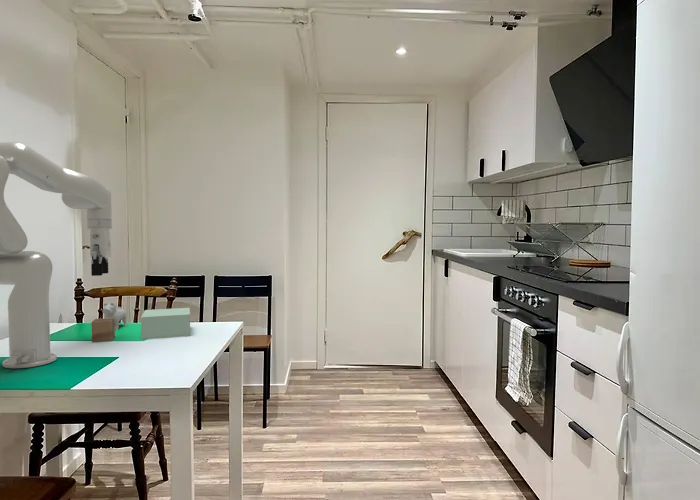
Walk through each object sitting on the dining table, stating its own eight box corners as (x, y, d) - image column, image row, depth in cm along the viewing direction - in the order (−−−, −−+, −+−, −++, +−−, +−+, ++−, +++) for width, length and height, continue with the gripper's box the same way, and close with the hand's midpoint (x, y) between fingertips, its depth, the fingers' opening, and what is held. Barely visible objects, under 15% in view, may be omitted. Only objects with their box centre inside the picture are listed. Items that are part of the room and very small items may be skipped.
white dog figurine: (98, 331, 171) (97, 303, 170) (115, 325, 184) (114, 298, 183) (112, 331, 171) (112, 303, 171) (128, 325, 184) (128, 298, 183)
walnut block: (111, 341, 156) (111, 320, 155) (92, 342, 154) (91, 322, 154) (115, 337, 161) (114, 317, 161) (96, 338, 160) (95, 318, 159)
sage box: (190, 336, 164) (189, 314, 163) (141, 340, 158) (140, 317, 158) (190, 328, 179) (189, 307, 178) (145, 331, 173) (144, 310, 173)
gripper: (106, 224, 150) (107, 276, 151) (116, 225, 167) (116, 272, 167) (80, 224, 148) (81, 276, 148) (93, 225, 164) (93, 272, 165)
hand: (100, 274), depth 158 cm, fingers open, 9 cm apart
